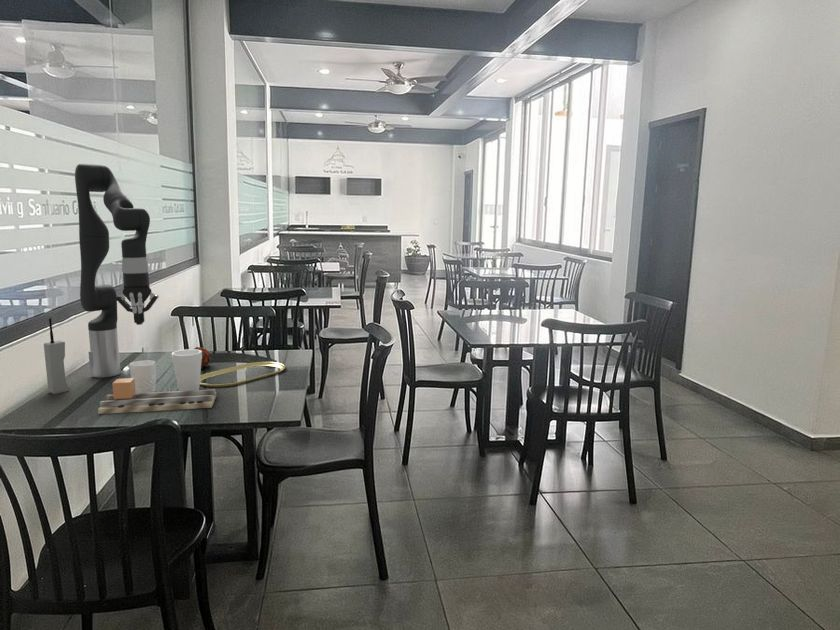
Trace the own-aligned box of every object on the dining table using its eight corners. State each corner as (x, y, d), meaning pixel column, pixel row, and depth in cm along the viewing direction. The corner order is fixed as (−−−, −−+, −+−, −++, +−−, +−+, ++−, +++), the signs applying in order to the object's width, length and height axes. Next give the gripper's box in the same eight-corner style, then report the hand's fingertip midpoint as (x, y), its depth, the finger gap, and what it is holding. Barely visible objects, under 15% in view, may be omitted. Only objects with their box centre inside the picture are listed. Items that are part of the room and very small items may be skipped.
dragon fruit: (205, 374, 228) (190, 373, 236) (220, 358, 232) (205, 357, 241) (189, 358, 224) (176, 358, 232) (205, 342, 228) (191, 342, 237)
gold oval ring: (185, 383, 212) (184, 378, 212) (262, 363, 240) (262, 359, 240) (218, 392, 202) (218, 387, 201) (295, 370, 230) (295, 366, 230)
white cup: (147, 396, 195) (145, 366, 193) (126, 395, 196) (123, 365, 195) (162, 389, 203) (160, 360, 201) (141, 388, 204) (139, 359, 202)
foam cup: (179, 386, 207) (177, 349, 204) (207, 385, 207) (204, 349, 205) (170, 394, 197) (167, 355, 195) (198, 393, 198) (196, 355, 196)
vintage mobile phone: (69, 390, 201) (62, 317, 197) (53, 394, 197) (46, 319, 193) (64, 388, 203) (57, 316, 199) (48, 392, 199) (40, 318, 195)
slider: (114, 404, 181) (112, 383, 180) (118, 399, 186) (117, 378, 185) (131, 403, 182) (130, 382, 181) (136, 398, 187) (134, 377, 186)
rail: (98, 414, 178) (97, 404, 177) (110, 401, 189) (109, 392, 189) (211, 407, 184) (211, 398, 183) (216, 396, 196) (216, 387, 195)
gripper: (160, 269, 198) (163, 321, 201) (116, 270, 195) (121, 322, 198) (154, 272, 191) (158, 325, 193) (109, 272, 188) (114, 327, 191)
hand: (139, 324), depth 196 cm, fingers closed
